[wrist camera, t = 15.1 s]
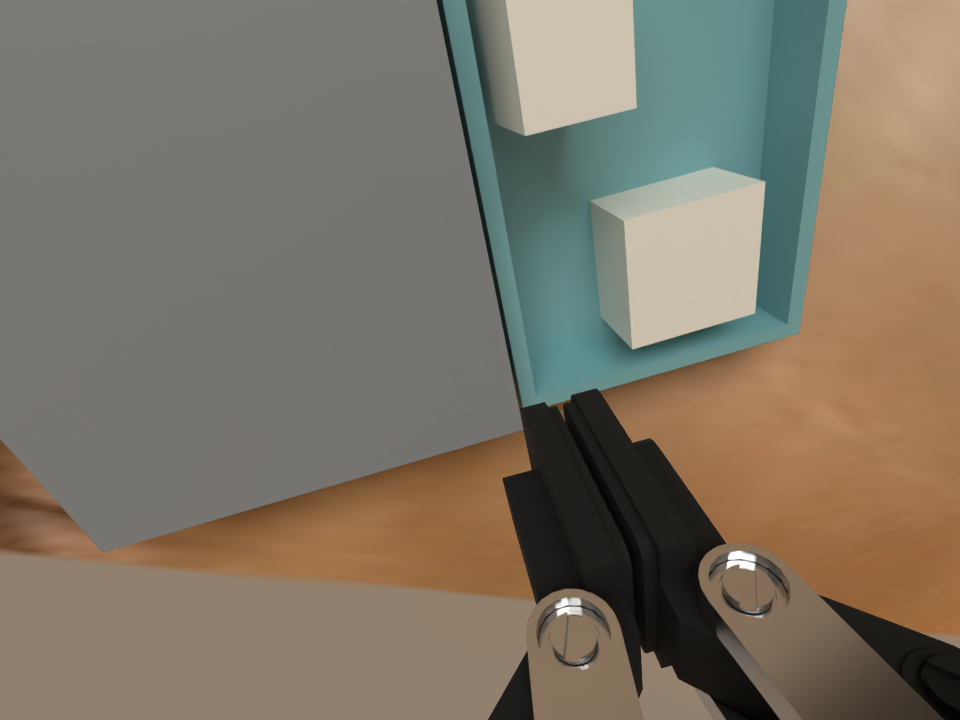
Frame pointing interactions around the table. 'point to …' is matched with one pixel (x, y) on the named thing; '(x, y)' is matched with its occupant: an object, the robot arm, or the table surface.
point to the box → (653, 179)
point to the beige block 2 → (678, 254)
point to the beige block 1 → (553, 60)
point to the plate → (235, 255)
